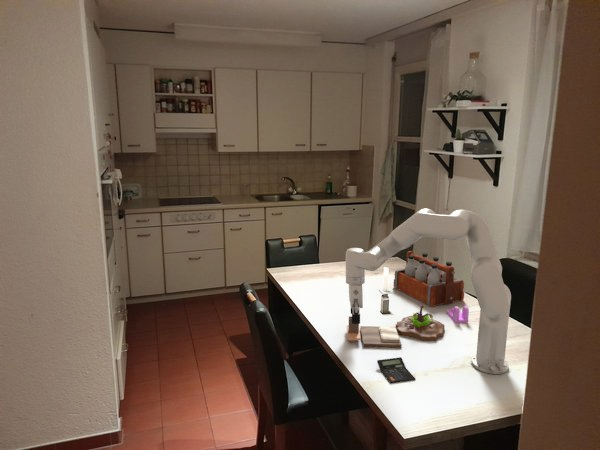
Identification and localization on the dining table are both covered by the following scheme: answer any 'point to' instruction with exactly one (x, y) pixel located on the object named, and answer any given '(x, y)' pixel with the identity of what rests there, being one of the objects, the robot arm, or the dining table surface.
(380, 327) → the board
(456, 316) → the bracket
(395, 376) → the calculator
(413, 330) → the plant
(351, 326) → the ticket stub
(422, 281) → the milk bottle holder
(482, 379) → the dining table surface
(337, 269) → the dining table surface
